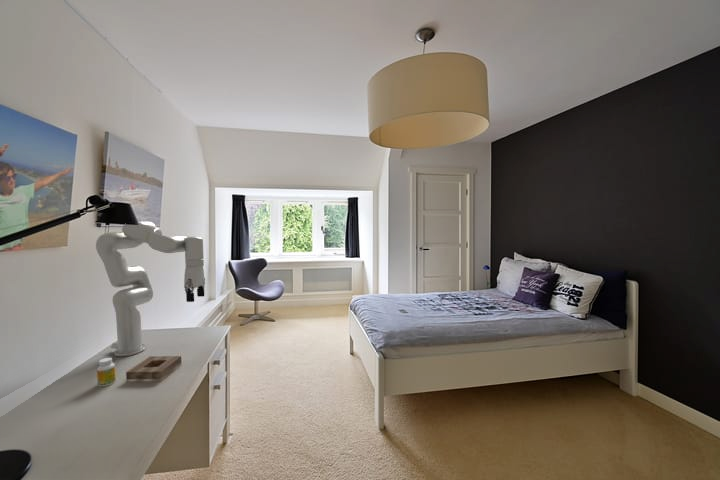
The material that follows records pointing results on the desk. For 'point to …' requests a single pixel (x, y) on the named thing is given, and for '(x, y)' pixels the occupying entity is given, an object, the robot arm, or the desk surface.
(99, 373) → the supplement bottle
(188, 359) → the desk surface
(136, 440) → the desk surface
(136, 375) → the socket block
